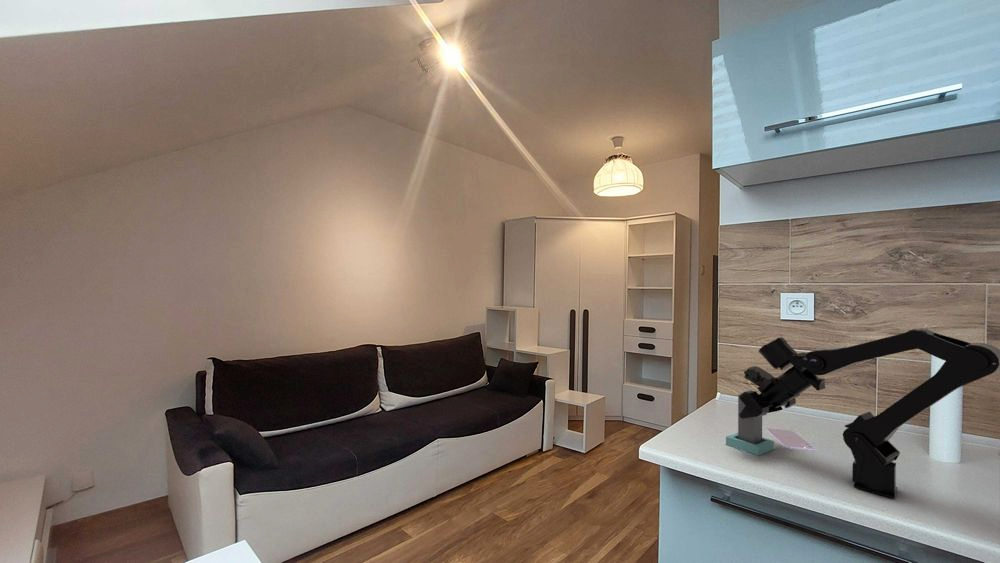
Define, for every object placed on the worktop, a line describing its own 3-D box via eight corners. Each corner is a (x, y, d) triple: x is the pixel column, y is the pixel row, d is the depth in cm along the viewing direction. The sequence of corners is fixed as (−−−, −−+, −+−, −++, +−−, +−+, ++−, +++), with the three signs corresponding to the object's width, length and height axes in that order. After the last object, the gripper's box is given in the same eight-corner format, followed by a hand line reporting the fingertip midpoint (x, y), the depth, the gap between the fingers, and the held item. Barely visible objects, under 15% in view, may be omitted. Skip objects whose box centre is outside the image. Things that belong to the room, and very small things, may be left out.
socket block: (774, 449, 111) (774, 441, 111) (757, 455, 106) (757, 447, 106) (742, 438, 118) (742, 431, 118) (725, 444, 113) (725, 436, 113)
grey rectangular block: (762, 442, 111) (762, 396, 111) (754, 445, 109) (754, 398, 109) (746, 437, 115) (746, 392, 115) (738, 439, 113) (738, 394, 113)
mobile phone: (792, 429, 124) (817, 449, 110) (792, 433, 124) (817, 452, 110) (764, 427, 126) (785, 445, 111) (764, 430, 126) (785, 449, 111)
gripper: (783, 355, 114) (742, 386, 123) (747, 361, 104) (705, 394, 113) (816, 390, 107) (770, 420, 116) (781, 400, 97) (734, 431, 106)
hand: (745, 415), depth 113 cm, fingers closed on grey rectangular block, 4 cm apart
